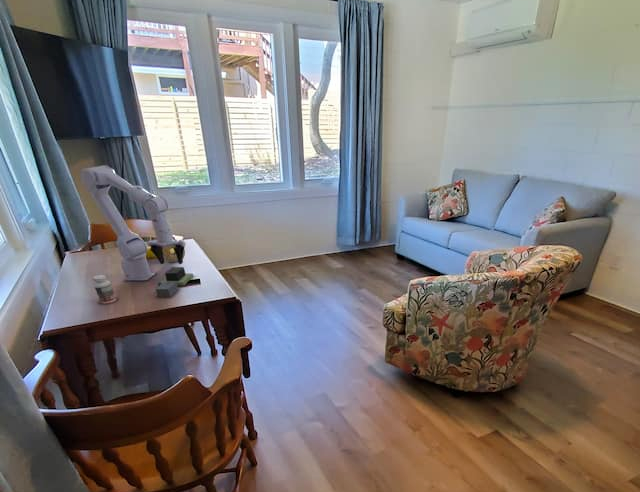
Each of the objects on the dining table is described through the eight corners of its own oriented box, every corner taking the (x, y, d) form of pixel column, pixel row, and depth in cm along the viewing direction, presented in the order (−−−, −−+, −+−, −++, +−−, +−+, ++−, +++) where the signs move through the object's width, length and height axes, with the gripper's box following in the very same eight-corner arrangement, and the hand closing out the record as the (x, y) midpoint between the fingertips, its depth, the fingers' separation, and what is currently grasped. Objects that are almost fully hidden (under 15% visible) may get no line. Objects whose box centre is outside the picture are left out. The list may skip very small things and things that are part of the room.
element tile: (171, 256, 194) (168, 247, 191) (138, 259, 191) (135, 249, 188) (176, 247, 206) (174, 238, 203) (145, 250, 203) (143, 240, 201)
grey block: (157, 297, 153) (155, 289, 151) (166, 289, 159) (163, 281, 157) (170, 297, 153) (168, 289, 151) (178, 289, 159) (176, 281, 157)
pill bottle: (98, 301, 151) (88, 277, 145) (113, 296, 154) (104, 272, 149) (104, 305, 148) (94, 280, 142) (119, 300, 151) (110, 276, 146)
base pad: (160, 285, 163) (159, 282, 162) (170, 276, 172) (169, 273, 171) (184, 285, 163) (183, 282, 162) (193, 276, 171) (192, 273, 171)
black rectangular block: (166, 281, 163) (164, 273, 162) (174, 274, 170) (172, 267, 168) (178, 281, 163) (176, 273, 162) (185, 274, 169) (183, 267, 168)
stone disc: (164, 264, 184) (158, 243, 179) (163, 262, 187) (157, 241, 182) (187, 260, 189) (182, 239, 183) (186, 258, 191) (181, 237, 186)
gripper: (139, 232, 152) (149, 266, 159) (176, 232, 152) (185, 266, 159) (148, 227, 158) (157, 260, 165) (184, 227, 158) (192, 260, 165)
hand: (171, 263), depth 163 cm, fingers open, 7 cm apart
